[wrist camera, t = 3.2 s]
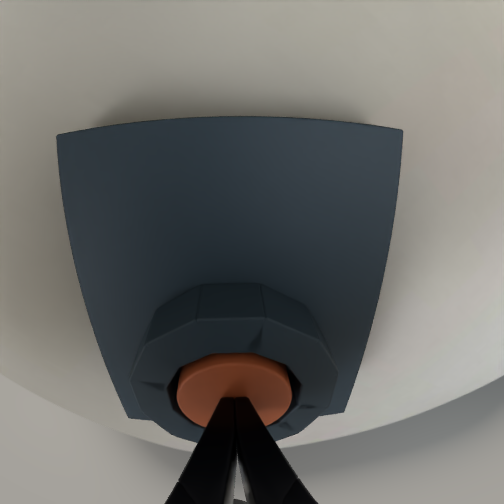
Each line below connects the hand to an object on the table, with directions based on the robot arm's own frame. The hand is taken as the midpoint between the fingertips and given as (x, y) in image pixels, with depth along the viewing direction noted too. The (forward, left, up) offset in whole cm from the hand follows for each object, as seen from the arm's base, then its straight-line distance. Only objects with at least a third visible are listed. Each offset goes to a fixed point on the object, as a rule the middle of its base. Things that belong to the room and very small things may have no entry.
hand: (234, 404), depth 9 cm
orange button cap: (0, 0, -2) cm, 2 cm away
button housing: (+2, 0, -4) cm, 5 cm away
